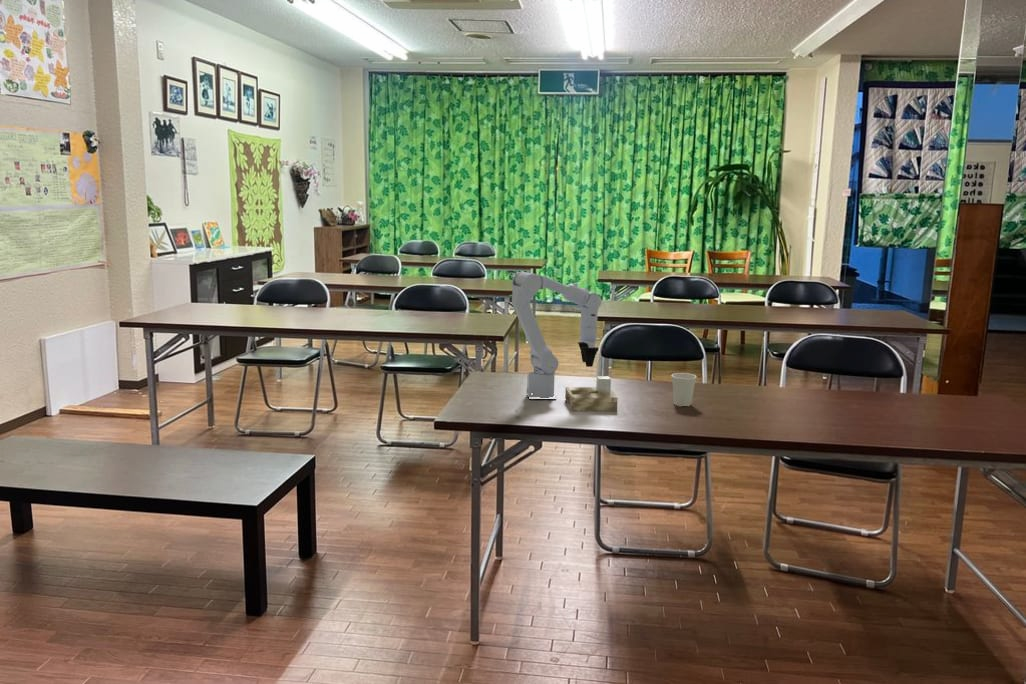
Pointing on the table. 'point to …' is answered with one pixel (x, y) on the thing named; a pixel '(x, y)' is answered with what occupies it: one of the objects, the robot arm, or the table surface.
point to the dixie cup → (683, 388)
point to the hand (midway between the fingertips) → (587, 364)
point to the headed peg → (603, 384)
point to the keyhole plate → (590, 399)
